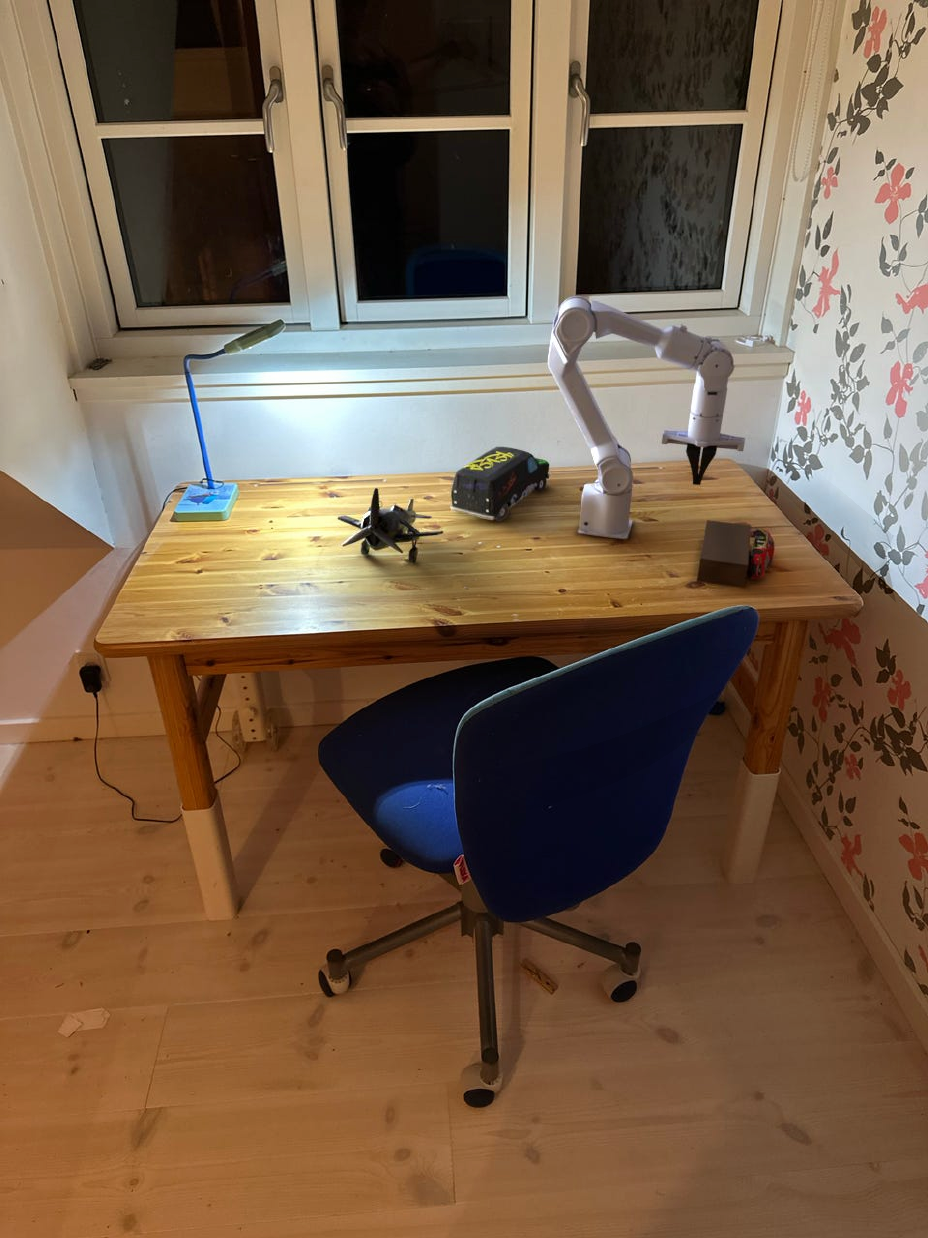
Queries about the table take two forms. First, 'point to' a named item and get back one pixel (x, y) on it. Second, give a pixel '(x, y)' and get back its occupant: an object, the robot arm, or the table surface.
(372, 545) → the airplane toy
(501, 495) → the toy van
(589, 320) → the robot arm
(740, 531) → the step block
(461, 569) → the table surface
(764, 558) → the race car
